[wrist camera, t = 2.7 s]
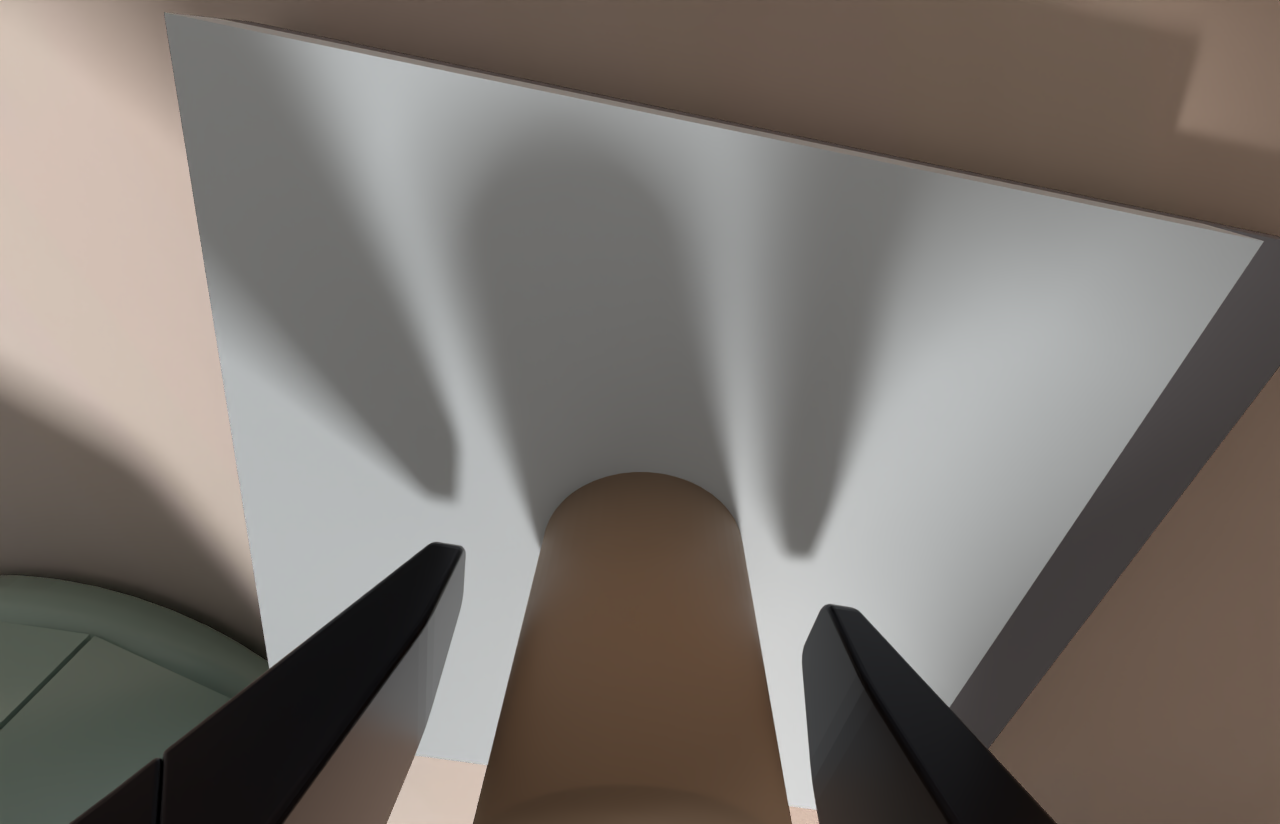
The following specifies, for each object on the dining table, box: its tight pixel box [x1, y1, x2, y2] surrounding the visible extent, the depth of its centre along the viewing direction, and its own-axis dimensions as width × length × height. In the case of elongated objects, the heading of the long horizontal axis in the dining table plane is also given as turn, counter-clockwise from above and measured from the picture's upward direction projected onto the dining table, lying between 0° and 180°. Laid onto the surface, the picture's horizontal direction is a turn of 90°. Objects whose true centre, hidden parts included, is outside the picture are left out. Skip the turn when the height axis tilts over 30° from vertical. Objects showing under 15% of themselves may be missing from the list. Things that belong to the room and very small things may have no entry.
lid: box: [164, 12, 1264, 824], centre depth 7 cm, size 11×11×5 cm
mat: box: [219, 18, 1280, 749], centre depth 10 cm, size 13×11×1 cm
